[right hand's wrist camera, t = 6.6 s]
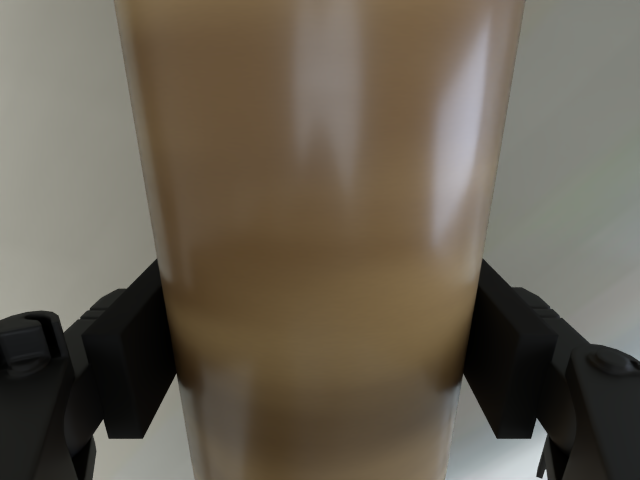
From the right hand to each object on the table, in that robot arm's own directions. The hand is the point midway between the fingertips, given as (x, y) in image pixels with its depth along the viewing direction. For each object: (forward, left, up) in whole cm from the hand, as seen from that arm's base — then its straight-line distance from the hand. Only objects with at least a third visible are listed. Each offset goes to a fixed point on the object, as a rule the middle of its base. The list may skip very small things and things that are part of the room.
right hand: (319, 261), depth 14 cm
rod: (+6, +4, 0) cm, 7 cm away
